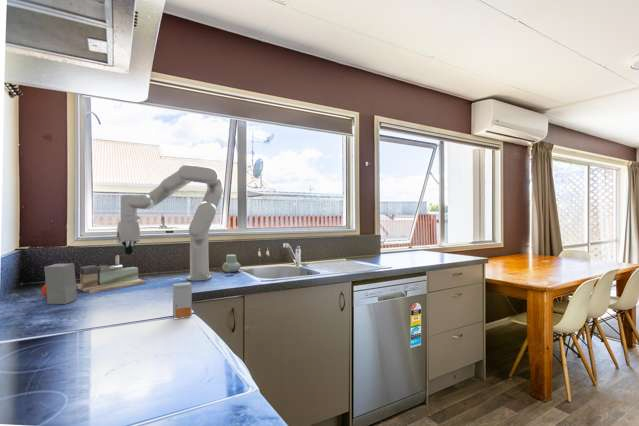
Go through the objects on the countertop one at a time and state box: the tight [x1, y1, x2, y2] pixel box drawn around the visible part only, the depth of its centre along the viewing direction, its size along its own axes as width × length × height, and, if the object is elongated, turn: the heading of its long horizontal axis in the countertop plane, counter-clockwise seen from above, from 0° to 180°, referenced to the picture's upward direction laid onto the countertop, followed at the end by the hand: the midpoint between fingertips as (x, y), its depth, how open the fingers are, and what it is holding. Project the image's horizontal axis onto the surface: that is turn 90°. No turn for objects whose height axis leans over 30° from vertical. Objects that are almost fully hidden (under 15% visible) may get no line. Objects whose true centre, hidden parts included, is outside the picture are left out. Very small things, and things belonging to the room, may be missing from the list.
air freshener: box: [221, 253, 242, 274], centre depth 212 cm, size 11×8×10 cm
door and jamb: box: [76, 264, 146, 294], centre depth 175 cm, size 18×25×11 cm
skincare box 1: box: [43, 262, 78, 305], centre depth 145 cm, size 8×7×16 cm
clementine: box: [41, 283, 47, 298], centre depth 152 cm, size 8×7×7 cm
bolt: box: [99, 254, 124, 271], centre depth 175 cm, size 2×10×7 cm, turn 142°
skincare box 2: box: [172, 281, 193, 319], centre depth 126 cm, size 6×4×12 cm
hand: (128, 254), depth 182 cm, fingers closed
